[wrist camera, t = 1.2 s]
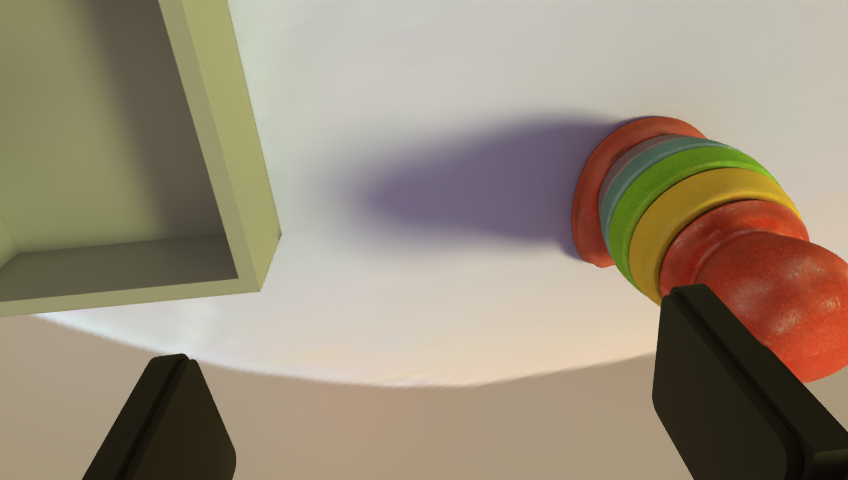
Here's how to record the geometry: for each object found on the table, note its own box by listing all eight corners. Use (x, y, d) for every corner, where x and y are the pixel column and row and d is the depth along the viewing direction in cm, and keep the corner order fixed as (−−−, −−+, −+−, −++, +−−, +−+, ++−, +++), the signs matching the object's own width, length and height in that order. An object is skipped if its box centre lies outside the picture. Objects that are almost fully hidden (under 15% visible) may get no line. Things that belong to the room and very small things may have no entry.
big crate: (-131, -33, 29) (-271, -26, 23) (211, -65, 29) (163, -66, 23) (18, 260, 38) (-54, 322, 31) (281, 234, 38) (260, 291, 32)
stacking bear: (579, 268, 40) (698, 473, 25) (552, 142, 36) (679, 299, 20) (727, 224, 39) (949, 411, 24) (720, 89, 35) (992, 211, 19)
